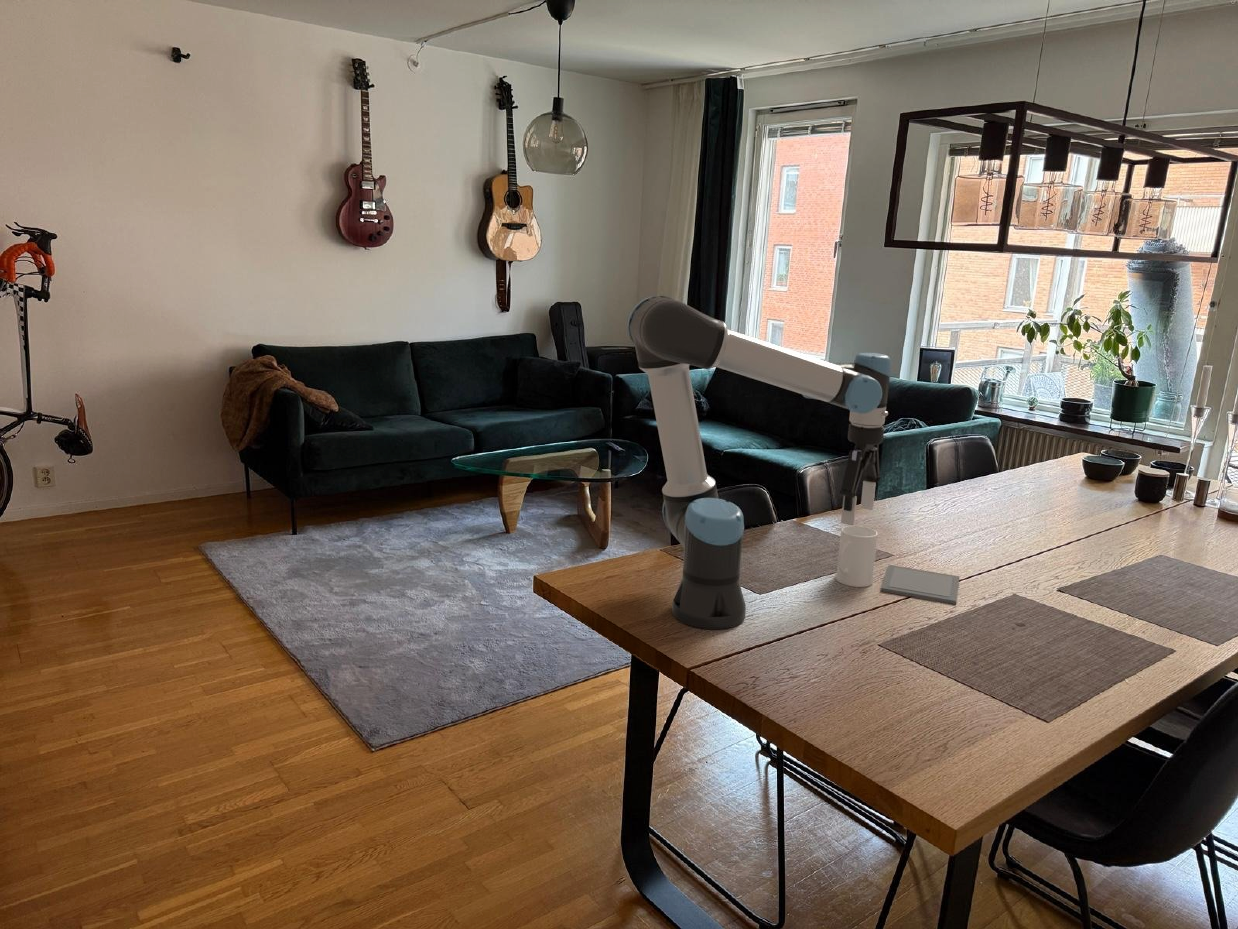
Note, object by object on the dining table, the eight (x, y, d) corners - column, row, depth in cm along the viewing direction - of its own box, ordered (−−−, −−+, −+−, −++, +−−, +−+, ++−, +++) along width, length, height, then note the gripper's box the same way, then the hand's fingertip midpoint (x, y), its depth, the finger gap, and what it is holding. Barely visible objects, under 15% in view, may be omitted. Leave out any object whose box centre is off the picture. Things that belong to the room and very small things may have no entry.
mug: (849, 593, 197) (854, 542, 194) (818, 581, 203) (823, 531, 200) (880, 582, 204) (886, 532, 201) (850, 570, 210) (855, 522, 207)
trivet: (956, 604, 193) (956, 600, 193) (880, 591, 199) (880, 587, 199) (959, 579, 207) (959, 576, 207) (888, 567, 213) (888, 564, 213)
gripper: (865, 436, 182) (855, 534, 188) (899, 417, 203) (890, 505, 208) (830, 431, 186) (822, 527, 191) (867, 413, 206) (858, 500, 212)
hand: (857, 516), depth 200 cm, fingers open, 13 cm apart
